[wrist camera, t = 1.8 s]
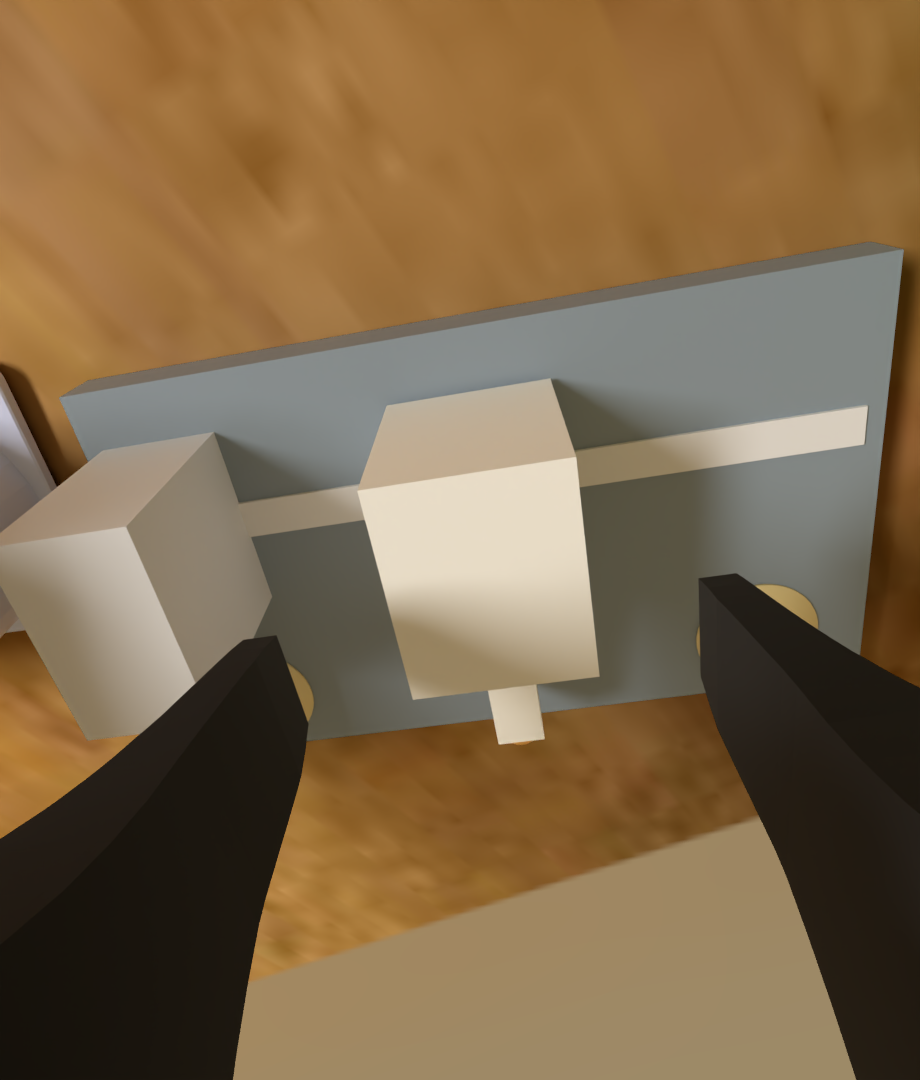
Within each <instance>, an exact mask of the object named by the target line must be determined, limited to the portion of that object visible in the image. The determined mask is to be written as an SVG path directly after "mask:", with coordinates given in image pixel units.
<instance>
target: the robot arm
mask: <svg viewBox="0 0 920 1080" xmlns="http://www.w3.org/2000/svg"><path fill="white" fill-rule="evenodd" d="M55 488H57V486H56V484H55V482H54V480H53V478H52V476H51V474H50V472H49V470H48V467H47V465H46V463H45V461H44V459H43V457H42V455H41V453H40V451H39V449H38V447H37V445H36V443H35V440H34V438H33V436H32V434H31V432H30V430H29V428H28V426H27V424H26V422H25V420H24V418H23V416H22V413H21V411H20V409H19V407H18V405H17V403H16V401H15V399H14V397H13V395H12V393H11V391H10V389H9V386H8V384H7V382H6V380H5V378H4V376H3V375H2V374H1V372H0V533H1V532H2V531H3V530H5V529H6V528H7V527H8V526H9V525H11V524H12V523H13V522H14V521H16V520H17V519H18V518H19V517H21V516H22V515H23V514H24V513H26V512H27V511H28V510H29V509H31V508H32V507H33V506H34V505H36V504H37V503H38V502H39V501H41V500H42V499H43V498H44V497H46V496H47V495H48V494H49V493H50V492H52V491H53V490H54V489H55ZM698 583H699V628H700V672H701V679H702V682H703V685H704V689H705V692H706V695H707V698H708V701H709V704H710V707H711V710H712V713H713V716H714V719H715V722H716V725H717V728H718V731H719V733H720V735H721V737H722V739H723V741H724V744H725V746H726V748H727V750H728V752H729V754H730V756H731V758H732V761H733V763H734V765H735V767H736V769H737V771H738V773H739V775H740V777H741V779H742V782H743V784H744V786H745V788H746V790H747V792H748V794H749V796H750V798H751V800H752V802H753V804H754V807H755V809H756V811H757V813H758V815H759V817H760V819H761V821H762V823H763V825H764V827H765V829H766V832H767V834H768V836H769V838H770V840H771V842H772V844H773V846H774V848H775V850H776V853H777V855H778V857H779V860H780V862H781V865H782V867H783V869H784V872H785V874H786V876H787V879H788V881H789V884H790V887H791V890H792V893H793V896H794V898H795V901H796V904H797V906H798V909H799V912H800V915H801V918H802V920H803V923H804V926H805V929H806V932H807V934H808V937H809V940H810V943H811V946H812V949H813V951H814V954H815V957H816V960H817V963H818V966H819V969H820V972H821V974H822V977H823V981H824V983H825V986H826V989H827V992H828V995H829V998H830V1001H831V1003H832V1007H833V1010H834V1013H835V1016H836V1019H837V1022H838V1025H839V1028H840V1031H841V1034H842V1037H843V1040H844V1043H845V1046H846V1049H847V1053H848V1056H849V1059H850V1062H851V1064H852V1068H853V1071H854V1074H855V1077H856V1080H920V688H919V687H917V686H915V685H913V684H911V683H909V682H907V681H905V680H903V679H901V678H899V677H897V676H895V675H893V674H892V673H890V672H888V671H886V670H884V669H883V668H881V667H879V666H877V665H876V664H874V663H872V662H870V661H869V660H867V659H865V658H864V657H862V656H860V655H858V654H857V653H855V652H853V651H851V650H850V649H848V648H847V647H845V646H843V645H842V644H840V643H838V642H837V641H835V640H834V639H832V638H830V637H829V636H827V635H826V634H824V633H823V632H821V631H820V630H818V629H817V628H815V627H813V626H812V625H810V624H809V623H807V622H806V621H804V620H803V619H802V618H800V617H799V616H797V615H796V614H794V613H793V612H791V611H790V610H788V609H787V608H786V607H784V606H783V605H781V604H780V603H778V602H777V601H776V600H774V599H773V598H771V597H770V596H769V595H767V594H766V593H764V592H763V591H762V590H760V589H759V588H757V587H756V586H755V585H753V584H752V583H750V582H749V581H747V580H746V579H745V578H743V577H742V576H740V575H739V574H737V573H734V574H726V575H719V576H712V577H704V578H698ZM23 630H25V629H24V627H23V625H22V623H21V622H20V620H19V618H18V616H17V614H16V613H15V611H14V609H13V607H12V606H11V604H10V602H9V600H8V598H7V597H6V595H5V593H4V591H3V589H2V588H1V586H0V638H1V637H2V636H3V635H4V634H5V633H9V632H16V631H23ZM308 725H309V723H308V721H307V718H306V715H305V712H304V710H303V707H302V704H301V701H300V699H299V696H298V693H297V690H296V687H295V685H294V682H293V679H292V676H291V674H290V671H289V668H288V665H287V663H286V660H285V657H284V654H283V652H282V649H281V646H280V643H279V641H278V638H277V635H275V636H267V637H260V638H252V639H245V640H242V641H241V642H240V643H239V644H237V645H236V646H235V647H234V648H233V649H232V650H230V651H229V652H228V653H227V654H226V655H225V656H224V657H223V658H222V659H221V660H219V661H218V662H217V663H216V664H215V665H214V666H213V667H212V668H211V669H210V670H209V671H208V672H207V673H206V674H205V675H204V676H203V677H202V678H201V679H199V680H198V681H197V682H196V683H195V684H194V685H193V686H192V687H191V688H190V689H189V690H188V691H187V692H186V693H185V694H184V695H183V696H182V697H180V698H179V699H178V700H177V701H176V702H175V703H174V704H173V705H172V706H171V707H170V708H169V709H168V710H167V711H166V712H165V713H163V714H162V715H161V716H160V717H159V718H158V719H157V720H156V721H155V722H153V723H152V724H151V725H150V726H149V727H148V728H147V729H145V730H144V731H143V732H142V733H141V734H140V735H139V736H137V737H136V738H135V739H134V740H133V741H132V742H130V743H129V744H128V745H127V746H126V747H125V748H124V749H122V750H121V751H120V752H119V753H118V754H117V755H116V756H114V757H113V758H112V759H111V760H110V761H108V762H107V763H106V764H105V765H103V766H102V767H101V768H100V769H99V770H97V771H96V772H95V773H93V774H92V775H91V776H90V777H88V778H87V779H86V780H84V781H83V782H82V783H80V784H79V785H78V786H76V787H75V788H74V789H72V790H71V791H70V792H68V793H67V794H66V795H64V796H63V797H62V798H60V799H59V800H58V801H56V802H55V803H53V804H52V805H51V806H49V807H48V808H46V809H45V810H44V811H42V812H41V813H39V814H37V815H36V816H34V817H33V818H31V819H30V820H28V821H27V822H25V823H24V824H22V825H21V826H19V827H18V828H16V829H15V830H13V831H12V832H10V833H9V834H7V835H6V836H4V837H3V838H1V839H0V1080H233V1074H234V1067H235V1060H236V1053H237V1046H238V1040H239V1034H240V1028H241V1022H242V1016H243V1010H244V1003H245V997H246V991H247V985H248V980H249V974H250V969H251V964H252V958H253V953H254V948H255V942H256V937H257V932H258V927H259V922H260V918H261V914H262V910H263V906H264V902H265V898H266V895H267V892H268V888H269V885H270V881H271V878H272V875H273V871H274V868H275V865H276V861H277V858H278V854H279V851H280V848H281V844H282V841H283V838H284V834H285V831H286V828H287V824H288V821H289V817H290V814H291V810H292V807H293V803H294V800H295V796H296V793H297V789H298V786H299V782H300V778H301V773H302V767H303V761H304V755H305V748H306V741H307V733H308Z"/></svg>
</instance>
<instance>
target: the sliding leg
mask: <svg viewBox="0 0 920 1080" xmlns="http://www.w3.org/2000/svg"><path fill="white" fill-rule="evenodd" d="M357 492H358V496H359V499H360V503H361V507H362V511H363V514H364V518H365V522H366V526H367V529H368V533H369V537H370V541H371V545H372V548H373V552H374V556H375V560H376V563H377V567H378V571H379V575H380V578H381V582H382V586H383V590H384V593H385V597H386V601H387V605H388V608H389V612H390V616H391V620H392V623H393V627H394V631H395V635H396V638H397V642H398V646H399V650H400V653H401V657H402V661H403V665H404V668H405V672H406V676H407V680H408V683H409V687H410V691H411V695H412V698H413V700H416V699H424V698H432V697H440V696H448V695H456V694H464V693H472V692H480V691H488V694H489V699H490V704H491V709H492V714H493V719H494V724H495V728H496V733H497V738H498V743H499V744H508V743H513V744H517V745H525V744H528V743H530V742H532V741H533V740H542V739H545V738H544V729H543V721H542V714H541V708H540V701H539V695H538V689H537V684H544V683H552V682H560V681H568V680H576V679H585V678H593V677H600V676H599V667H598V657H597V648H596V638H595V629H594V620H593V610H592V601H591V591H590V582H589V573H588V563H587V554H586V544H585V535H584V526H583V516H582V507H581V497H580V488H579V479H578V469H577V460H576V455H575V452H574V449H573V446H572V443H571V440H570V437H569V434H568V431H567V428H566V425H565V421H564V418H563V415H562V412H561V409H560V406H559V403H558V400H557V397H556V394H555V391H554V388H553V385H552V382H551V379H550V378H549V379H543V380H537V381H531V382H525V383H519V384H513V385H507V386H501V387H495V388H489V389H483V390H477V391H471V392H465V393H459V394H453V395H447V396H441V397H435V398H429V399H423V400H417V401H411V402H405V403H399V404H393V405H387V406H386V409H385V412H384V415H383V418H382V421H381V423H380V426H379V429H378V432H377V435H376V438H375V441H374V444H373V447H372V449H371V452H370V455H369V458H368V461H367V464H366V467H365V470H364V473H363V475H362V478H361V481H360V484H359V487H358V490H357Z"/></svg>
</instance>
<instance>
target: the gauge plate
mask: <svg viewBox="0 0 920 1080" xmlns="http://www.w3.org/2000/svg"><path fill="white" fill-rule="evenodd" d="M903 252H904V249H900V248H896V247H891V246H887V245H883V244H878V243H874V242H867V243H861V244H855V245H850V246H844V247H838V248H833V249H827V250H822V251H816V252H810V253H805V254H799V255H793V256H788V257H782V258H776V259H771V260H765V261H760V262H754V263H748V264H743V265H737V266H731V267H726V268H720V269H714V270H709V271H703V272H697V273H692V274H686V275H681V276H675V277H669V278H664V279H658V280H652V281H647V282H641V283H635V284H630V285H624V286H619V287H613V288H607V289H602V290H596V291H590V292H585V293H579V294H573V295H568V296H562V297H556V298H551V299H545V300H540V301H534V302H528V303H523V304H517V305H511V306H506V307H500V308H494V309H489V310H483V311H478V312H472V313H466V314H461V315H455V316H449V317H444V318H438V319H432V320H427V321H421V322H415V323H410V324H404V325H399V326H393V327H387V328H382V329H376V330H370V331H365V332H359V333H353V334H348V335H342V336H337V337H331V338H325V339H320V340H314V341H308V342H303V343H297V344H291V345H286V346H280V347H274V348H269V349H263V350H258V351H252V352H246V353H241V354H235V355H229V356H224V357H218V358H212V359H207V360H201V361H196V362H190V363H184V364H179V365H173V366H167V367H162V368H156V369H150V370H145V371H139V372H133V373H128V374H122V375H117V376H111V377H105V378H100V379H94V380H88V381H86V382H85V383H83V384H81V385H80V386H78V387H76V388H74V389H73V390H71V391H69V392H68V393H66V394H64V395H63V396H61V397H59V398H60V401H61V403H62V405H63V407H64V410H65V412H66V414H67V416H68V418H69V421H70V423H71V425H72V427H73V430H74V432H75V434H76V436H77V438H78V441H79V443H80V445H81V447H82V450H83V452H84V454H85V456H86V458H87V461H88V463H86V464H85V465H84V466H83V467H82V468H80V469H79V470H78V471H77V472H75V473H74V474H73V475H72V476H70V477H69V478H68V479H67V480H65V481H64V482H63V483H62V484H60V485H59V486H58V487H57V488H55V489H54V490H53V491H52V492H50V493H49V494H48V495H47V496H46V497H44V498H43V499H42V500H41V501H39V502H38V503H37V504H36V505H34V506H33V507H32V508H31V509H29V510H28V511H27V512H26V513H24V514H23V515H22V516H21V517H19V518H18V519H17V520H16V521H14V522H13V523H12V524H11V525H9V526H8V527H7V528H6V529H5V530H3V531H2V532H1V533H0V586H1V588H2V589H3V591H4V593H5V595H6V597H7V598H8V600H9V602H10V604H11V606H12V607H13V609H14V611H15V613H16V614H17V616H18V618H19V620H20V622H21V623H22V625H23V627H24V629H25V630H26V632H27V634H28V636H29V638H30V639H31V641H32V643H33V645H34V646H35V648H36V650H37V652H38V654H39V655H40V657H41V659H42V661H43V663H44V664H45V666H46V668H47V670H48V671H49V673H50V675H51V677H52V679H53V680H54V682H55V684H56V686H57V687H58V689H59V691H60V693H61V695H62V696H63V698H64V700H65V702H66V703H67V705H68V707H69V709H70V711H71V712H72V714H73V716H74V718H75V719H76V721H77V723H78V725H79V727H80V728H81V730H82V732H83V734H84V736H85V737H86V739H87V740H95V739H103V738H111V737H120V736H128V735H136V734H141V733H142V732H143V731H144V730H145V729H147V728H148V727H149V726H150V725H151V724H152V723H153V722H155V721H156V720H157V719H158V718H159V717H160V716H161V715H162V714H163V713H165V712H166V711H167V710H168V709H169V708H170V707H171V706H172V705H173V704H174V703H175V702H176V701H177V700H178V699H179V698H180V697H182V696H183V695H184V694H185V693H186V692H187V691H188V690H189V689H190V688H191V687H192V686H193V685H194V684H195V683H196V682H197V681H198V680H199V679H201V678H202V677H203V676H204V675H205V674H206V673H207V672H208V671H209V670H210V669H211V668H212V667H213V666H214V665H215V664H216V663H217V662H218V661H219V660H221V659H222V658H223V657H224V656H225V655H226V654H227V653H228V652H229V651H230V650H232V649H233V648H234V647H235V646H236V645H237V644H239V643H240V642H241V641H242V640H245V639H252V638H260V637H267V636H275V635H277V638H278V641H279V643H280V646H281V649H282V652H283V654H284V657H285V660H286V663H287V665H288V668H289V671H290V674H291V676H292V679H293V682H294V685H295V687H296V690H297V693H298V696H299V699H300V701H301V704H302V707H303V710H304V712H305V715H306V718H307V721H308V723H309V725H308V733H307V741H313V740H321V739H330V738H338V737H346V736H354V735H363V734H371V733H379V732H388V731H396V730H404V729H412V728H421V727H429V726H437V725H446V724H454V723H462V722H470V721H479V720H487V719H493V714H492V709H491V704H490V699H489V694H488V691H480V692H472V693H464V694H456V695H448V696H440V697H432V698H424V699H416V700H413V698H412V695H411V691H410V687H409V683H408V680H407V676H406V672H405V668H404V665H403V661H402V657H401V653H400V650H399V646H398V642H397V638H396V635H395V631H394V627H393V623H392V620H391V616H390V612H389V608H388V605H387V601H386V597H385V593H384V590H383V586H382V582H381V578H380V575H379V571H378V567H377V563H376V560H375V556H374V552H373V548H372V545H371V541H370V537H369V533H368V529H367V526H366V522H365V518H364V514H363V511H362V507H361V503H360V499H359V496H358V492H357V490H358V487H359V484H360V481H361V478H362V475H363V473H364V470H365V467H366V464H367V461H368V458H369V455H370V452H371V449H372V447H373V444H374V441H375V438H376V435H377V432H378V429H379V426H380V423H381V421H382V418H383V415H384V412H385V409H386V406H387V405H393V404H399V403H405V402H411V401H417V400H423V399H429V398H435V397H441V396H447V395H453V394H459V393H465V392H471V391H477V390H483V389H489V388H495V387H501V386H507V385H513V384H519V383H525V382H531V381H537V380H543V379H549V378H550V379H551V382H552V385H553V388H554V391H555V394H556V397H557V400H558V403H559V406H560V409H561V412H562V415H563V418H564V421H565V425H566V428H567V431H568V434H569V437H570V440H571V443H572V446H573V449H574V452H575V455H576V460H577V469H578V479H579V488H580V497H581V507H582V516H583V526H584V535H585V544H586V554H587V563H588V573H589V582H590V591H591V601H592V610H593V620H594V629H595V638H596V648H597V657H598V667H599V676H600V677H593V678H585V679H576V680H568V681H560V682H552V683H544V684H537V689H538V695H539V701H540V708H541V713H545V712H553V711H562V710H570V709H578V708H586V707H595V706H603V705H611V704H620V703H628V702H636V701H644V700H653V699H661V698H669V697H677V696H686V695H694V694H702V693H706V692H705V689H704V685H703V682H702V679H701V672H700V628H699V583H698V578H704V577H712V576H719V575H726V574H734V573H737V574H739V575H740V576H742V577H743V578H745V579H746V580H747V581H749V582H750V583H752V584H753V585H755V586H756V587H757V588H759V589H760V590H762V591H763V592H764V593H766V594H767V595H769V596H770V597H771V598H773V599H774V600H776V601H777V602H778V603H780V604H781V605H783V606H784V607H786V608H787V609H788V610H790V611H791V612H793V613H794V614H796V615H797V616H799V617H800V618H802V619H803V620H804V621H806V622H807V623H809V624H810V625H812V626H813V627H815V628H817V629H818V630H820V631H821V632H823V633H824V634H826V635H827V636H829V637H830V638H832V639H834V640H835V641H837V642H838V643H840V644H842V645H843V646H845V647H847V648H848V649H850V650H851V651H853V652H855V653H857V654H858V655H860V650H861V641H862V632H863V622H864V613H865V604H866V595H867V585H868V576H869V567H870V558H871V548H872V539H873V530H874V521H875V511H876V502H877V493H878V484H879V474H880V465H881V456H882V446H883V437H884V428H885V419H886V409H887V400H888V391H889V382H890V372H891V363H892V354H893V345H894V335H895V326H896V317H897V308H898V298H899V289H900V280H901V271H902V261H903Z"/></svg>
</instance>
